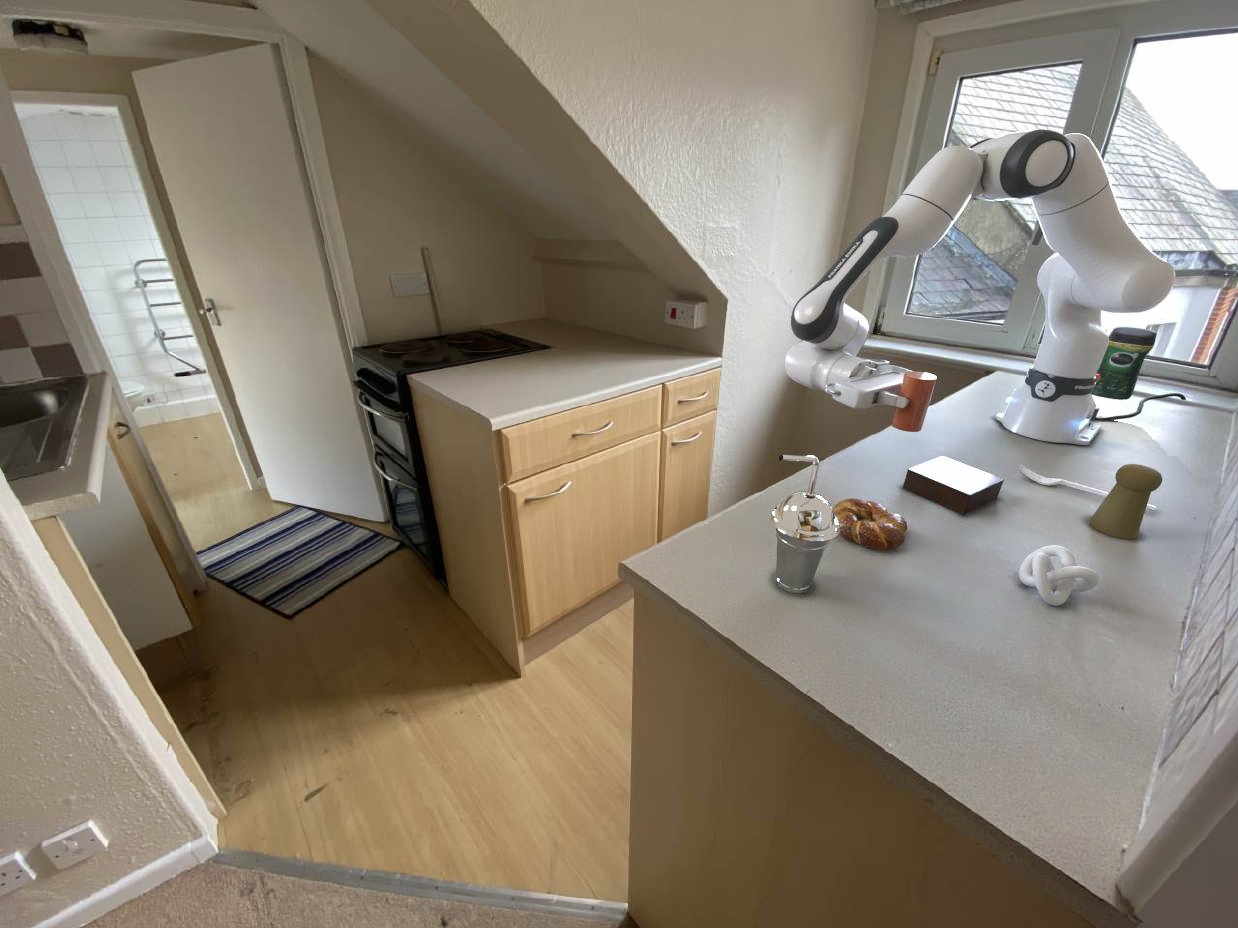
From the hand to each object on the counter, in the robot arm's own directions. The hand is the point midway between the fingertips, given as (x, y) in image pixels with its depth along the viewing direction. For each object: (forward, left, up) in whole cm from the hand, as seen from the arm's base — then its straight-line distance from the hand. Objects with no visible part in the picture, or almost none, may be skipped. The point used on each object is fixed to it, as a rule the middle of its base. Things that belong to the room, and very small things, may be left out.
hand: (918, 400), depth 96 cm
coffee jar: (-94, +1, -15) cm, 95 cm away
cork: (-12, +30, -15) cm, 36 cm away
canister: (0, -1, -5) cm, 6 cm away
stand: (0, +10, -15) cm, 18 cm away
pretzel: (+24, +10, -15) cm, 30 cm away
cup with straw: (+44, +13, -15) cm, 48 cm away
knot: (+16, +32, -15) cm, 39 cm away
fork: (-22, +22, -15) cm, 34 cm away
